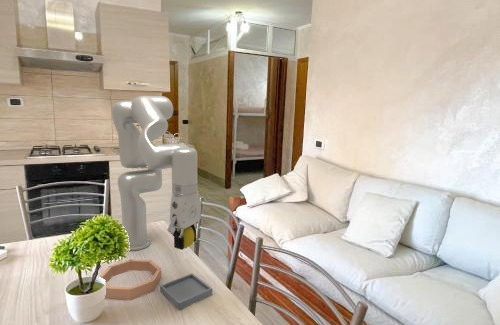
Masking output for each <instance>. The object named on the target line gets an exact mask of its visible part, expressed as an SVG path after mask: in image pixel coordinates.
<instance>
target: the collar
mask: <svg viewBox="0 0 500 325" xmlns="http://www.w3.org/2000/svg"><path fill="white" fill-rule="evenodd" d="M129 271H144V272H145V271H146V272H148V271H149V272H150V273H151V274H152V277H151V279H149V280H147V281H144V282H142V283H138V284H136V285H133V286H131V287H130V286H129V287H128V286H114V285H110V284H108V282H109V281H110V280H111V279H112V277H114V276H117V275H120V274H123V273H126V272H129ZM99 276H100V277H101V278H103V279H105V280H106V281H105V282H106V296H105V298H106V299H109V300H112V299H113V300H127V301H128V300H130V301H132V300H134V299H136V298H140V297H141V296H144V295H148V294H149V293H153V292H154V291H156V288H157V286H158V285H159V283H160V282H161V280H162V268H161V267H160V266H159V265H158V264H156V263H155V261H153V260H151V259H150V260H149V259H132V258H131V259H127V260H123V261H121V262H118V263H115V264H111V265H108V267H107V268H105V269H104V271H103V272H102V273H101V274H100V275H99Z"/></svg>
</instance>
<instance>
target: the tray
mask: <svg viewBox="0 0 500 325" xmlns="http://www.w3.org/2000/svg"><path fill="white" fill-rule="evenodd" d="M159 292H160V294H162V296H164V297H165V299H167V300H168V301H169V302H170V303H171V304H172V305H173V306H174V307H176V308H177V310H179V311H180V310H182V309H185V308H186V307H188V306H191V305H193V304H196V303H198V302H199V301H201V300H203V299H206V298H208V297H210V296H212V295H213V288H212V287H211V286H210V285H208V284H207V283H206V282H204V281H203V280H202V279H200V278H199V277H198V276H197V275H195V273H192V272H191V273H189V274H187V275H183V276H181V277H178V278H176V279H174V280H171V281H168V282H166V283H163V284H161V285H159Z"/></svg>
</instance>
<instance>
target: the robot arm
mask: <svg viewBox="0 0 500 325" xmlns="http://www.w3.org/2000/svg"><path fill="white" fill-rule="evenodd" d="M111 108H112V109H111V117H112V122H113V125H114V128H115V130H116V131H117V137H118V151H119V161H120V165H121V166H122V167H123V168H124V169H137V168H144V167H145V168H146V167H147V169H141V170H139V169H138V170H132V171H126V172H123V173H121V174H120V175H118V178H117V186H118V191H119V197H120V205H121V221H122V222H121V223H122V224H123V226H124V227H125V230H126V231H127V232H128V236H129V242H130V251H131V252H132V251H139V250H140V251H141V250H144V249H145V248H148V247H149V246H150V245H151V244H152V239H151V238H150V237H148V228H147V203H146V201H145V200H144V199H143V198H142V197H141V196H140V195H141V194H145V193H146V194H147V193H152V192H156V191H159V190H160V189H161V188H162V185H163V172H162V170H164V169H165V170H166V169H171V199H170V208H169V225H168V228H167V231H168V233H170V234H171V235H172V237H174V238H173V240H174V241H173V242H174V243H173V247H174V249H177V250H184V249H185V248H184V237H182V235H183V230H184V229H186V228H188V227H189V226H191V227H192V229H193V231H194V241H193V243H195V242H196V241H197V230H198V224H199V221H200V220H201V218H202V208H201V198H200V193H199V190H198V152H197V149H196V148H194V147H189V146H188V145H186V144H185V143H182V142H181V143H166V144H165V143H164V144H154V143H152V142H153V141H155V140H157V139H159V138H161V137H163V136H164V135H165V133H166V132H167V131H168V128H169V123H168V121H167V120H169V119H171V118H172V116H173V114H174V106H173V103H172V101H171V100H170V98H168V97H166V96H163V95H140V96H137V97H134V98H133V100H120V101H118V102H114V104H113V105H112V107H111ZM136 124H138V125H139V127H140V128H141V131H140V129H139V128H138V127H137V125H136ZM123 226H122V227H123ZM178 229H180V231H179V232H178V231H177V230H178ZM130 251H129V252H130Z"/></svg>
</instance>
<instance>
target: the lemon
mask: <svg viewBox="0 0 500 325" xmlns="http://www.w3.org/2000/svg"><path fill="white" fill-rule="evenodd" d="M177 231H178V232H179V231H180V229H177ZM182 237H184V249H187V248H188V247H190V246H191V245H193V243H194V242H193V241H194V231H193V229H192V227H191V226H189V227H188V228H186V229H184V230H183V235H182Z"/></svg>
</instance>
